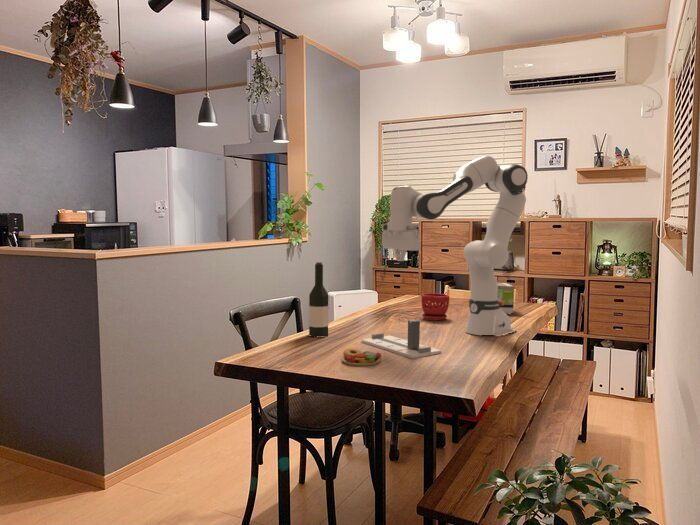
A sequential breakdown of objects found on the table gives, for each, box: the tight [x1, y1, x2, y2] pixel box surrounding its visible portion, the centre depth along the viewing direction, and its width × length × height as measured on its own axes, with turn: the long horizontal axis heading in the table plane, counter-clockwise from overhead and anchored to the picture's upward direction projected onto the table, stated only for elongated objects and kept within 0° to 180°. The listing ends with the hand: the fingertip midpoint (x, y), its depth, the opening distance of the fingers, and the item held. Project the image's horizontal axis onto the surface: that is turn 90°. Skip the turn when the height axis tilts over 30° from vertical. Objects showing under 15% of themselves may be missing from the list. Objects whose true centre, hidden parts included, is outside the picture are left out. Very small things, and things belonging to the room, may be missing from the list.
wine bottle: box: [308, 261, 329, 338], centre depth 228 cm, size 8×8×30 cm
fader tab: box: [407, 319, 421, 349], centre depth 203 cm, size 3×3×10 cm
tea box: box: [497, 282, 515, 314], centre depth 290 cm, size 15×10×15 cm
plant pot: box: [421, 292, 450, 321], centre depth 269 cm, size 13×13×12 cm
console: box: [360, 332, 442, 359], centre depth 210 cm, size 14×30×3 cm, turn 34°
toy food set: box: [341, 348, 382, 367], centre depth 189 cm, size 13×13×3 cm
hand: (400, 260), depth 225 cm, fingers closed
